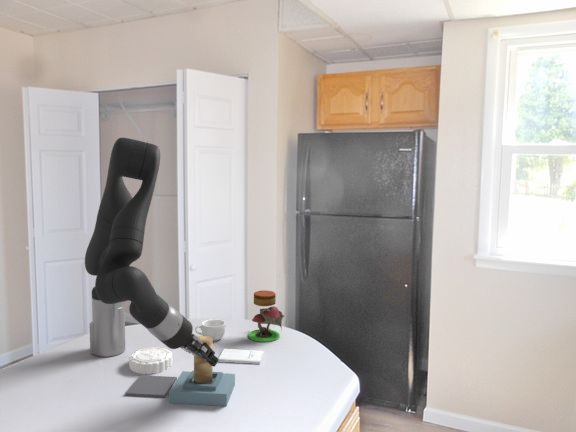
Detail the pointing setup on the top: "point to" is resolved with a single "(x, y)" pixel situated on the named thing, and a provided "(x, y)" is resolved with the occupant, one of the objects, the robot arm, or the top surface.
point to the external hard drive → (241, 356)
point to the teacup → (212, 328)
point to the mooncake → (150, 360)
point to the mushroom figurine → (266, 317)
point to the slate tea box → (202, 390)
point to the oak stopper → (203, 365)
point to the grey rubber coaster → (151, 386)
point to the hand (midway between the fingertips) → (209, 359)
